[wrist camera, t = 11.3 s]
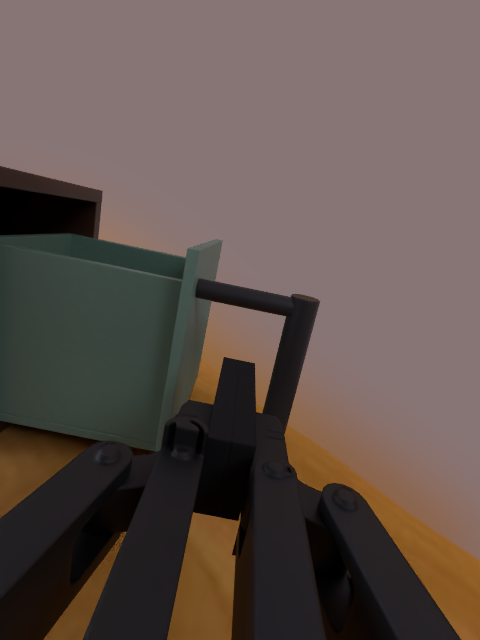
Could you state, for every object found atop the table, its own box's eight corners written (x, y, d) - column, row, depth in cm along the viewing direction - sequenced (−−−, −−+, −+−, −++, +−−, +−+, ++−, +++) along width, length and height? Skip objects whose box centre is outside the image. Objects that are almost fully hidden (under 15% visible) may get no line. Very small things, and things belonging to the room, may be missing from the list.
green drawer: (266, 390, 34) (299, 256, 30) (275, 494, 21) (334, 278, 17) (66, 350, 33) (77, 210, 30) (-54, 429, 20) (-58, 197, 17)
